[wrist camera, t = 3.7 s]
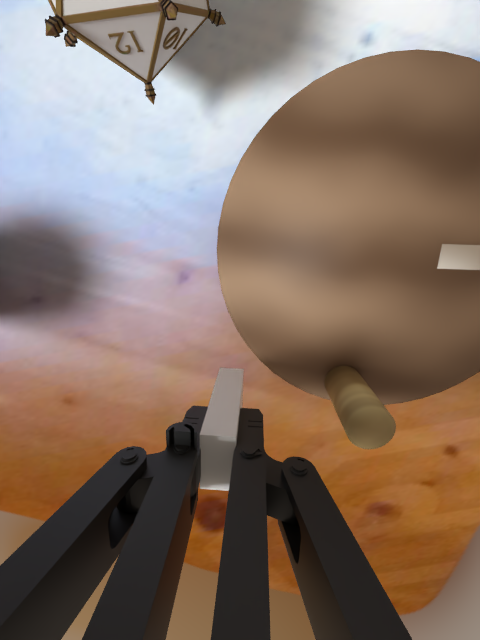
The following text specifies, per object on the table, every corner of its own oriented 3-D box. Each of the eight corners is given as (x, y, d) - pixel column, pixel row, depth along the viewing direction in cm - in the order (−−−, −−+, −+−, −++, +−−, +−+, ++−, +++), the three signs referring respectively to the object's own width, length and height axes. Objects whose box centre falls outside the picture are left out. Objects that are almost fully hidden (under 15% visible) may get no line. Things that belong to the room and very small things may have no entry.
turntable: (222, 72, 17) (199, -42, 10) (585, 72, 16) (829, -54, 9) (219, 383, 22) (202, 445, 15) (491, 398, 21) (601, 471, 14)
